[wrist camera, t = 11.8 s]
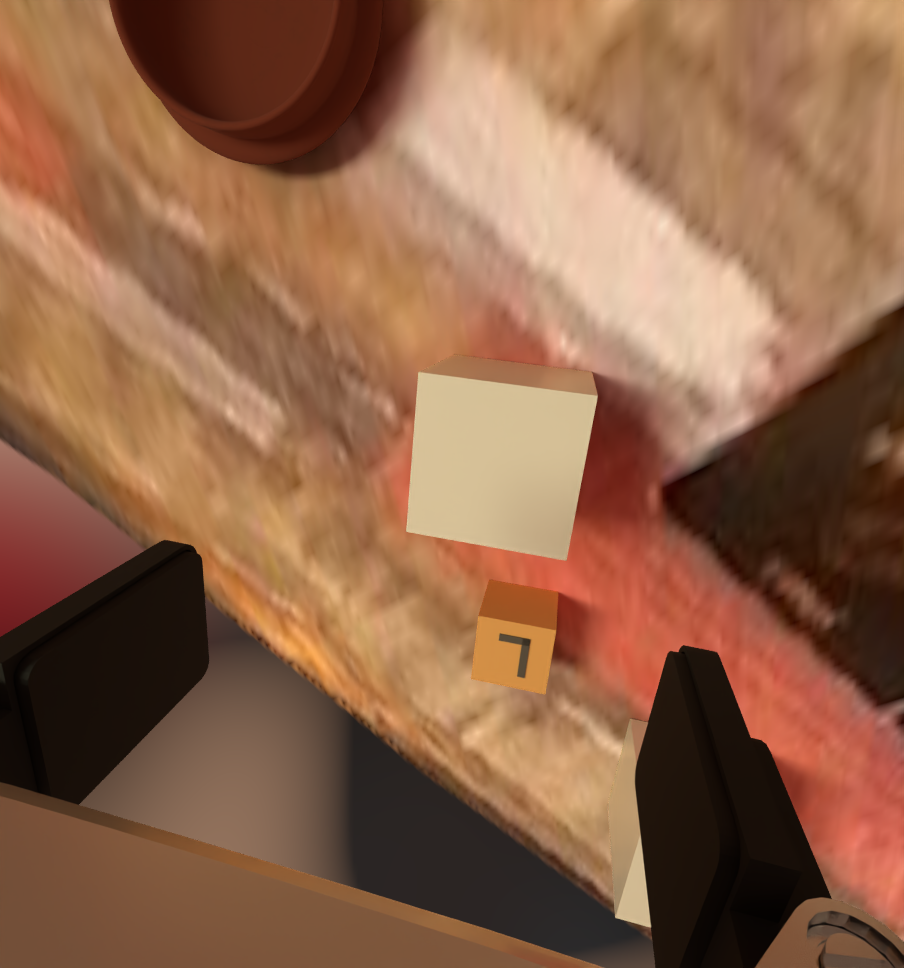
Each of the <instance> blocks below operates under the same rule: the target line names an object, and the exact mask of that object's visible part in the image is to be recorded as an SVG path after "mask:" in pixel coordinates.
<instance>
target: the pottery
mask: <svg viewBox="0 0 904 968" xmlns="http://www.w3.org/2000/svg"><path fill="white" fill-rule="evenodd" d="M109 2H110V7H111V11H112V15H113V18H114V22H115V25H116V28H117V31H118V34H119V36H120V39H121V41H122V44H123V46H124V48H125V50H126V52H127V55H128V56H129V58H130V60H131V62H132V64H133V65H134V67H135V69H136V70H137V72H138V73H139V75H140V76H141V78H142V79H143V81H144V82H145V83H146V84H147V86H148V87H149V88H150V89H151V90H152V92H153V93H154V94H155V95H156V96H157V97H158V98H159V99H160V100H161V101H162V103H163V104H164V106H165V107H166V109H167V110H168V112H169V113H170V114H171V115H172V117H173V118H174V119H175V120H176V121H177V123H178V124H179V125H180V126H181V127H182V128H183V129H184V130H185V131H186V132H187V133H188V134H189V135H191V136H192V137H193V138H194V139H195V140H197V141H198V142H199V143H201V144H202V145H203V146H205V147H207V148H208V149H210V150H212V151H213V152H215V153H217V154H219V155H221V156H224V157H226V158H229V159H232V160H235V161H239V162H243V163H249V164H275V163H281V162H285V161H289V160H292V159H295V158H297V157H300V156H302V155H304V154H306V153H308V152H310V151H312V150H313V149H315V148H316V147H318V146H319V145H321V144H322V143H323V142H325V141H326V140H327V139H328V138H329V137H331V136H332V135H333V134H334V133H335V132H336V131H337V130H338V129H339V127H340V126H341V125H342V124H343V123H344V122H345V120H346V119H347V118H348V116H349V115H350V114H351V112H352V111H353V109H354V108H355V106H356V104H357V103H358V101H359V99H360V97H361V95H362V93H363V91H364V89H365V87H366V85H367V82H368V80H369V77H370V74H371V72H372V69H373V65H374V62H375V59H376V55H377V50H378V46H379V40H380V34H381V26H382V12H383V0H109Z"/></svg>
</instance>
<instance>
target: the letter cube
mask: <svg viewBox="0 0 904 968" xmlns="http://www.w3.org/2000/svg"><path fill="white" fill-rule="evenodd" d="M557 608H558V592H557V591H551V590H545V589H540V588H534V587H528V586H523V585H517V584H511V583H506V582H500V581H494V580H489V582H488V586H487V589H486V592H485V596H484V599H483V602H482V606H481V609H480V612H479V616H478V624H477V633H476V642H475V650H474V659H473V668H472V676H471V679H474V680H479V681H484V682H488V683H493V684H498V685H503V686H507V687H512V688H517V689H522V690H527V691H531V692H536V693H541V694H545V693H546V687H547V681H548V675H549V670H550V664H551V658H552V652H553V647H554V641H555V635H556V627H557Z"/></svg>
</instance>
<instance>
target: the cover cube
mask: <svg viewBox="0 0 904 968" xmlns="http://www.w3.org/2000/svg"><path fill="white" fill-rule="evenodd" d="M597 398H598V394H597V390H596V386H595V382H594V378H593V374H592V372H589V371H581V370H573V369H565V368H557V367H550V366H542V365H534V364H526V363H518V362H510V361H502V360H494V359H486V358H478V357H470V356H463V355H455V354H454V355H452V356H450V357H448V358H446V359H444V360H442V361H440V362H438V363H436V364H434V365H432V366H430V367H428V368H426V369H424V370H422V371H420V372H419V373H418V386H417V399H416V412H415V425H414V438H413V451H412V464H411V477H410V490H409V503H408V516H407V529H406V532H411V533H416V534H422V535H427V536H433V537H438V538H444V539H449V540H455V541H460V542H466V543H471V544H477V545H482V546H488V547H494V548H499V549H505V550H510V551H516V552H521V553H527V554H532V555H538V556H543V557H549V558H554V559H560V560H565V561H566V560H567V555H568V550H569V544H570V539H571V534H572V529H573V523H574V518H575V513H576V508H577V503H578V497H579V492H580V487H581V482H582V476H583V471H584V466H585V461H586V455H587V450H588V445H589V440H590V434H591V429H592V424H593V419H594V414H595V408H596V403H597Z"/></svg>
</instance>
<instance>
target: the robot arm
mask: <svg viewBox="0 0 904 968" xmlns="http://www.w3.org/2000/svg"><path fill="white" fill-rule="evenodd" d="M208 664H209V654H208V638H207V623H206V608H205V594H204V579H203V565H202V558H201V556H200V555H199V554H197V552H196V550H195V548H194V547H193V546H191V545H188V544H183V543H178V542H173V541H168V540H164V541H161V542H159V543H157V544H155V545H154V546H152V547H150V548H149V549H147V550H145V551H144V552H142V553H140V554H139V555H137V556H135V557H134V558H132V559H131V560H129V561H127V562H125V563H124V564H122V565H120V566H119V567H117V568H115V569H114V570H112V571H110V572H108V573H107V574H105V575H103V576H102V577H100V578H98V579H97V580H95V581H93V582H92V583H90V584H88V585H87V586H85V587H83V588H82V589H80V590H78V591H77V592H75V593H73V594H72V595H70V596H68V597H67V598H65V599H63V600H62V601H60V602H58V603H56V604H55V605H53V606H52V607H50V608H48V609H47V610H45V611H43V612H41V613H40V614H38V615H36V616H35V617H33V618H31V619H30V620H28V621H26V622H25V623H23V624H21V625H20V626H18V627H16V628H15V629H13V630H11V631H10V632H8V633H6V634H5V635H3V636H1V637H0V968H603V967H600V966H597V965H594V964H591V963H588V962H584V961H582V960H579V959H576V958H573V957H570V956H566V955H563V954H560V953H558V952H555V951H552V950H548V949H545V948H542V947H539V946H536V945H533V944H530V943H527V942H524V941H521V940H518V939H515V938H512V937H509V936H506V935H503V934H500V933H497V932H494V931H491V930H488V929H484V928H481V927H478V926H474V925H471V924H468V923H465V922H462V921H458V920H455V919H452V918H449V917H446V916H442V915H439V914H436V913H432V912H430V911H426V910H423V909H420V908H417V907H413V906H410V905H407V904H404V903H400V902H397V901H394V900H391V899H388V898H384V897H381V896H378V895H374V894H371V893H368V892H365V891H362V890H358V889H355V888H352V887H349V886H345V885H342V884H339V883H336V882H333V881H329V880H326V879H323V878H320V877H316V876H313V875H310V874H306V873H303V872H300V871H297V870H293V869H290V868H287V867H284V866H280V865H277V864H273V863H270V862H267V861H263V860H260V859H257V858H254V857H251V856H247V855H244V854H241V853H237V852H234V851H231V850H227V849H224V848H221V847H218V846H214V845H211V844H207V843H204V842H201V841H198V840H194V839H191V838H188V837H185V836H181V835H178V834H174V833H171V832H168V831H165V830H161V829H158V828H155V827H151V826H148V825H145V824H141V823H138V822H134V821H131V820H128V819H124V818H121V817H118V816H114V815H111V814H107V813H104V812H100V811H97V810H94V809H90V808H87V807H83V806H80V805H79V804H80V803H81V802H82V801H83V800H84V799H85V798H86V797H87V796H88V795H89V793H91V792H92V791H93V790H94V789H95V787H96V786H97V785H98V784H99V783H100V782H101V781H102V780H103V779H104V778H105V777H106V776H107V775H108V774H109V773H110V772H111V771H112V770H113V769H114V768H115V767H116V766H117V765H118V764H119V763H120V762H121V761H122V760H123V759H124V758H125V757H126V756H127V755H128V754H129V753H130V752H131V750H132V749H133V748H134V747H135V746H136V745H137V744H138V743H139V742H140V741H141V740H142V739H143V738H144V737H145V736H146V735H147V734H148V733H149V732H150V731H151V730H152V729H153V728H154V727H155V726H156V725H157V724H158V723H159V722H160V721H161V720H162V719H163V718H164V717H165V716H166V715H167V714H168V713H169V712H170V711H171V710H172V709H173V708H174V707H175V705H176V704H177V703H178V702H179V701H180V700H181V699H182V698H183V697H184V696H185V695H186V694H187V693H188V692H189V691H190V690H191V689H192V688H193V687H194V686H195V685H196V684H197V683H198V682H199V681H200V680H201V679H202V677H203V676H204V674H205V672H206V670H207V668H208ZM635 791H636V800H637V809H638V817H639V826H640V835H641V844H642V853H643V861H644V870H645V879H646V888H647V896H648V905H649V914H650V923H651V932H652V940H653V949H654V957H655V967H656V968H904V941H902V940H901V939H900V938H899V937H898V936H897V935H896V934H895V933H894V932H892V931H891V930H890V929H889V928H888V927H887V926H886V925H884V924H883V923H881V922H880V921H878V920H877V919H875V918H874V917H872V916H871V915H869V914H868V913H866V912H865V911H863V910H861V909H859V908H856V907H854V906H852V905H850V904H847V903H845V902H843V901H839V900H834V899H832V898H831V896H830V893H829V891H828V889H827V886H826V884H825V881H824V879H823V877H822V874H821V872H820V869H819V867H818V865H817V862H816V860H815V857H814V855H813V853H812V850H811V848H810V845H809V843H808V841H807V838H806V836H805V833H804V831H803V829H802V826H801V824H800V821H799V819H798V817H797V814H796V812H795V809H794V807H793V805H792V802H791V800H790V797H789V795H788V793H787V790H786V788H785V785H784V783H783V781H782V778H781V776H780V773H779V771H778V769H777V766H776V764H775V761H774V759H773V757H772V754H771V752H770V750H769V748H768V747H767V745H766V744H765V743H764V742H763V741H761V740H758V739H754V738H751V737H750V735H749V732H748V729H747V727H746V724H745V722H744V719H743V716H742V714H741V711H740V709H739V706H738V703H737V701H736V698H735V696H734V693H733V690H732V688H731V685H730V683H729V680H728V678H727V675H726V672H725V670H724V667H723V665H722V662H721V659H720V657H719V655H718V653H717V652H714V651H709V650H704V649H699V648H694V647H689V646H685V645H683V646H682V647H681V648H680V650H679V652H673V651H670V652H669V653H668V654H667V657H666V661H665V664H664V668H663V671H662V675H661V678H660V682H659V685H658V689H657V693H656V696H655V700H654V703H653V707H652V710H651V714H650V717H649V721H648V724H647V728H646V732H645V735H644V739H643V742H642V746H641V749H640V753H639V756H638V760H637V764H636V770H635Z"/></svg>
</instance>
